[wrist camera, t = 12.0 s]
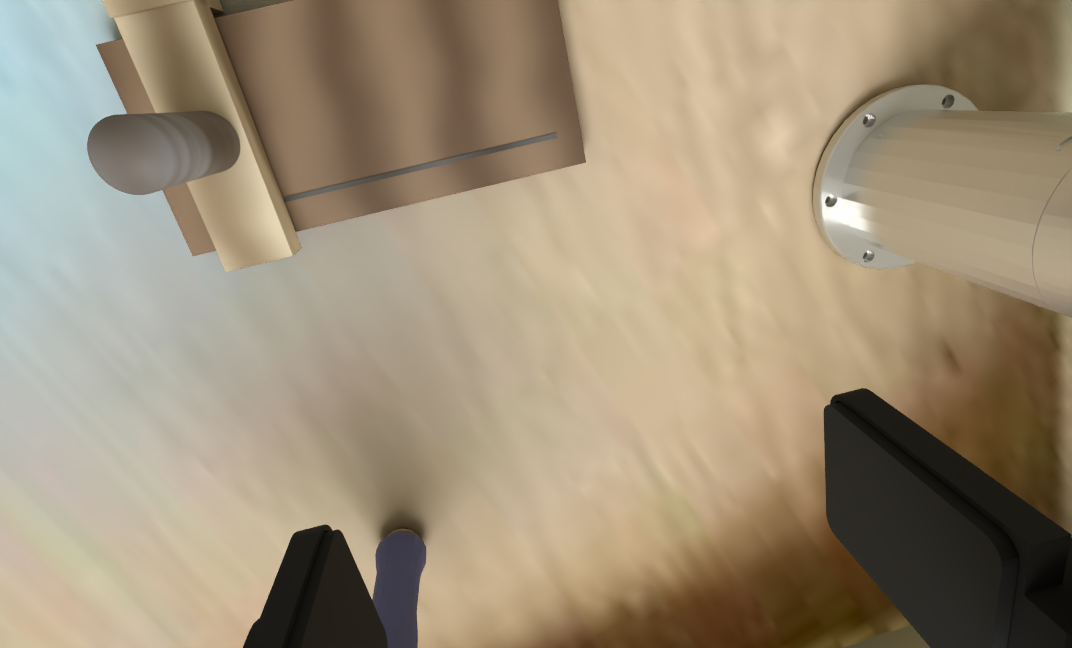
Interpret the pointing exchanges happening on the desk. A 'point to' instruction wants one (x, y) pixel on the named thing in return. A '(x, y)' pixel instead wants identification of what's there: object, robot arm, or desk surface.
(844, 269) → the desk surface
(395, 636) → the rubber mallet
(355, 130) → the walnut board
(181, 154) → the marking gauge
